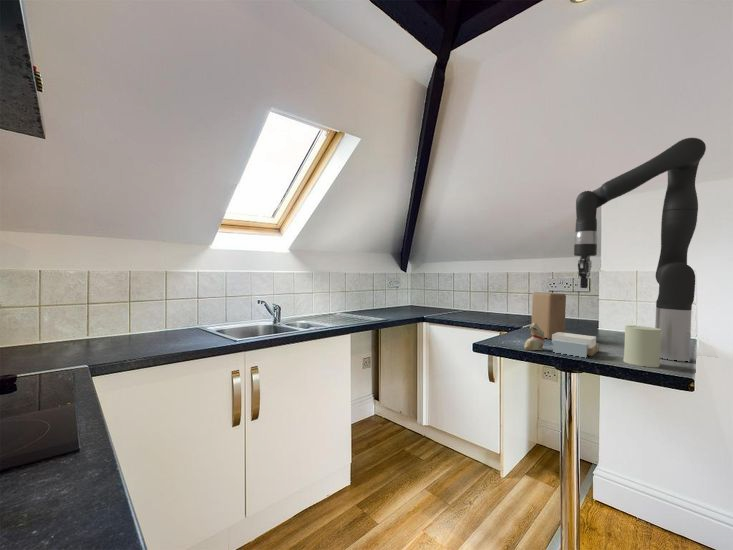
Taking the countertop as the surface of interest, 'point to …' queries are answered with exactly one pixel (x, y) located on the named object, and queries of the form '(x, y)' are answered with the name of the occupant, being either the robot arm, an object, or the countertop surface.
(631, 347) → the can
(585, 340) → the slab
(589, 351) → the roller
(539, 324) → the wooden block
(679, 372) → the countertop surface
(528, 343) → the chocolate bunny
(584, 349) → the rail
